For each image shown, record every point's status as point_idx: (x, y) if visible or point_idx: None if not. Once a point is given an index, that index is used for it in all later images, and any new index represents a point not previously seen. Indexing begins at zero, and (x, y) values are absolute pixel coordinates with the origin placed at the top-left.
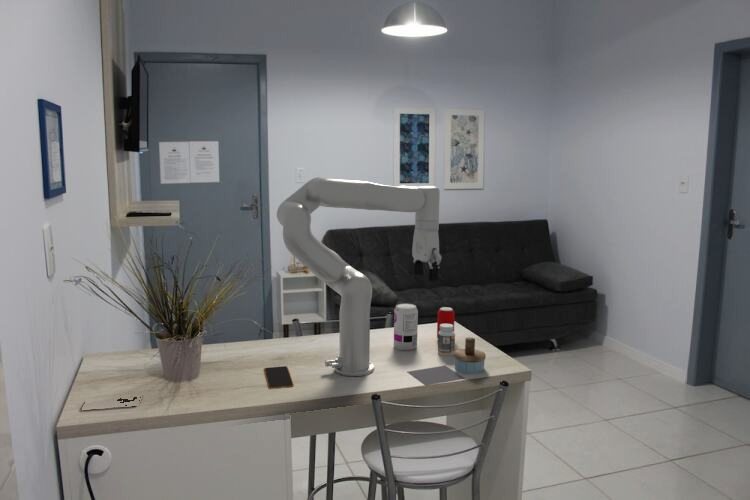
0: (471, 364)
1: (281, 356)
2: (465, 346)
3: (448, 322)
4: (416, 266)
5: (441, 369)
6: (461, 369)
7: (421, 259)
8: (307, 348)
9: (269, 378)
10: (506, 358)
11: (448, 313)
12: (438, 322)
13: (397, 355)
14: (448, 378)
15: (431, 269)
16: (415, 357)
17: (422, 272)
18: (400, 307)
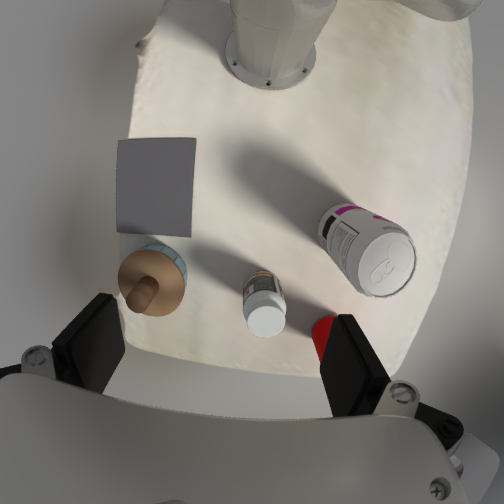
0: None
1: (396, 4)
2: (144, 284)
3: (322, 352)
4: (353, 369)
5: (173, 216)
6: (144, 247)
7: (89, 405)
8: (421, 57)
9: None
10: (183, 358)
11: None
12: None
13: (306, 180)
14: (127, 201)
15: (60, 355)
16: (273, 210)
17: (322, 374)
18: (391, 243)
